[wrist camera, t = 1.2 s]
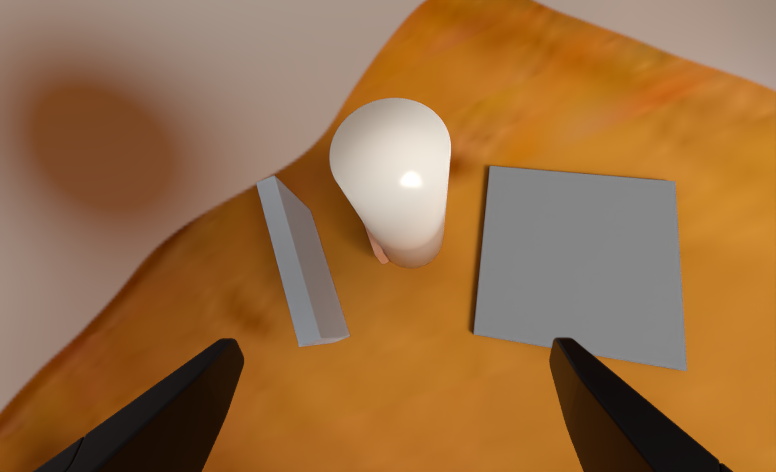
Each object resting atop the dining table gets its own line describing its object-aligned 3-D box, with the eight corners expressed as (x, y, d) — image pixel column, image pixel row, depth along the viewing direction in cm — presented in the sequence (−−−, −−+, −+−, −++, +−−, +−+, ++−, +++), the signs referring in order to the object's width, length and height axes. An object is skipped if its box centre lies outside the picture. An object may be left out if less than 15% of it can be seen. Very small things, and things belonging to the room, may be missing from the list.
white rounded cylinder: (453, 253, 23) (471, 177, 11) (389, 279, 23) (344, 228, 12) (428, 198, 24) (422, 81, 13) (368, 222, 24) (309, 127, 13)
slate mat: (682, 370, 19) (687, 371, 19) (473, 334, 21) (473, 334, 21) (671, 183, 22) (675, 181, 22) (489, 168, 24) (490, 165, 24)
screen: (350, 336, 22) (321, 338, 17) (333, 342, 22) (299, 346, 17) (310, 210, 25) (274, 175, 20) (296, 215, 25) (256, 182, 20)
